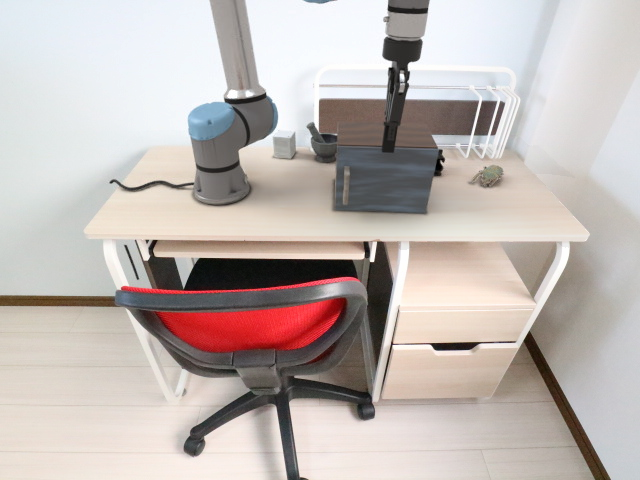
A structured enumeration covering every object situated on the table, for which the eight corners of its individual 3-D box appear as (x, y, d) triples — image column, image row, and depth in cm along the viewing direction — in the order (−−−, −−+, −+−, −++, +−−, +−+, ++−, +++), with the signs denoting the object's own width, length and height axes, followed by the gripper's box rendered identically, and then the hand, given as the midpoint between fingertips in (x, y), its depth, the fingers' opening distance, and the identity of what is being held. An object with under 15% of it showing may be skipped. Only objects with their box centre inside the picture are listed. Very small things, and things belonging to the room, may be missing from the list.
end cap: (435, 165, 125) (439, 145, 121) (442, 175, 119) (447, 155, 115) (405, 166, 124) (408, 146, 120) (411, 176, 119) (414, 155, 114)
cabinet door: (429, 224, 97) (443, 159, 87) (334, 220, 98) (337, 156, 87) (425, 211, 102) (438, 148, 92) (334, 208, 103) (337, 145, 92)
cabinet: (424, 211, 103) (438, 147, 92) (334, 208, 103) (337, 144, 92) (415, 182, 115) (425, 123, 105) (335, 180, 116) (337, 121, 105)
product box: (296, 152, 132) (295, 131, 127) (291, 159, 127) (290, 138, 123) (279, 150, 133) (278, 129, 128) (273, 157, 128) (272, 136, 124)
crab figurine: (463, 170, 120) (470, 157, 116) (493, 175, 122) (502, 162, 119) (473, 188, 114) (482, 174, 110) (505, 192, 116) (514, 179, 113)
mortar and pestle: (340, 153, 131) (342, 118, 124) (339, 165, 124) (341, 129, 117) (308, 151, 132) (307, 117, 125) (305, 163, 125) (304, 127, 117)
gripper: (381, 30, 80) (369, 139, 94) (388, 42, 69) (373, 163, 83) (417, 31, 79) (400, 140, 94) (429, 44, 69) (408, 164, 83)
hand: (387, 151), depth 89 cm, fingers closed
